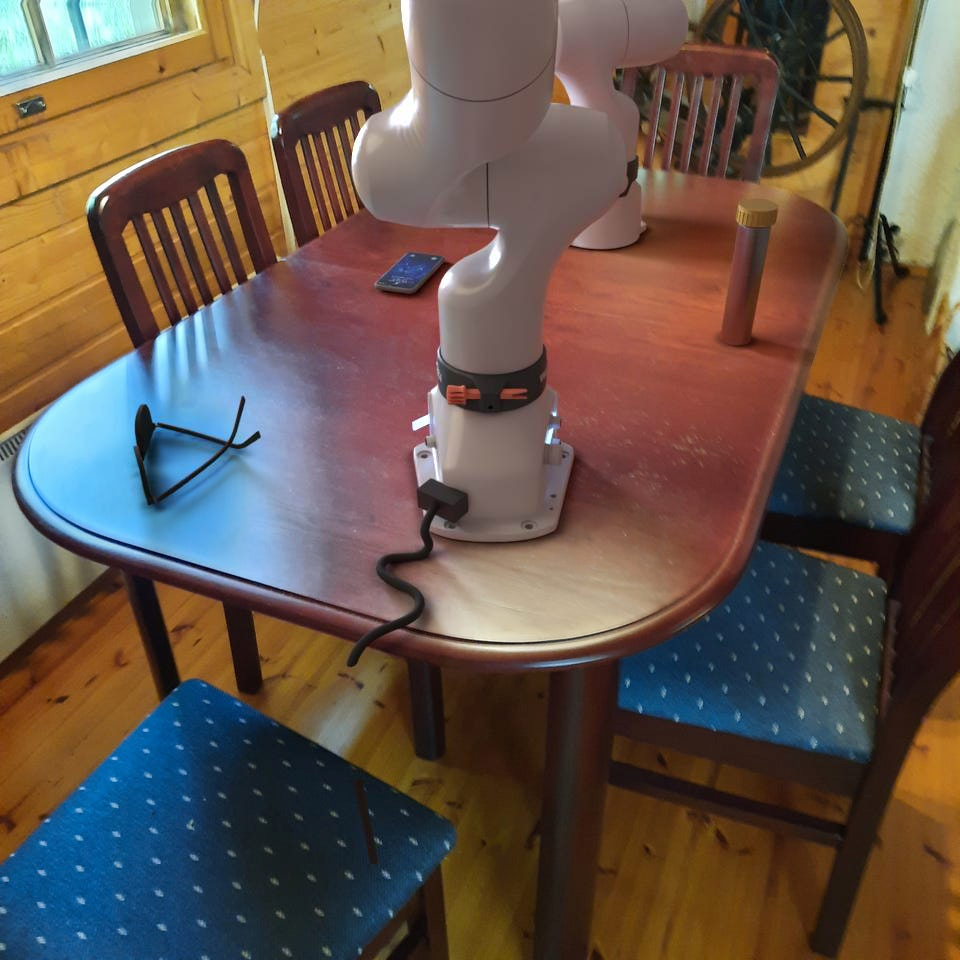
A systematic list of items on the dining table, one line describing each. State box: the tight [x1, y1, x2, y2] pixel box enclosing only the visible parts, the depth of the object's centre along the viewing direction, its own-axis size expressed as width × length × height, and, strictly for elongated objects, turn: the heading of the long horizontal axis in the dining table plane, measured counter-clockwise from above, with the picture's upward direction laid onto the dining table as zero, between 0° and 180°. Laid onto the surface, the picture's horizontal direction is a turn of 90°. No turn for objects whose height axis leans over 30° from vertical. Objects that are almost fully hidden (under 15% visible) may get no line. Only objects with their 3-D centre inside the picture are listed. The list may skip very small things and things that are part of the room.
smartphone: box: [373, 251, 446, 295], centre depth 143 cm, size 7×1×15 cm
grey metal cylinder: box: [719, 223, 772, 347], centre depth 117 cm, size 4×4×19 cm
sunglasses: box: [132, 395, 262, 506], centre depth 100 cm, size 17×14×5 cm
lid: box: [735, 198, 779, 228], centre depth 112 cm, size 5×5×2 cm
